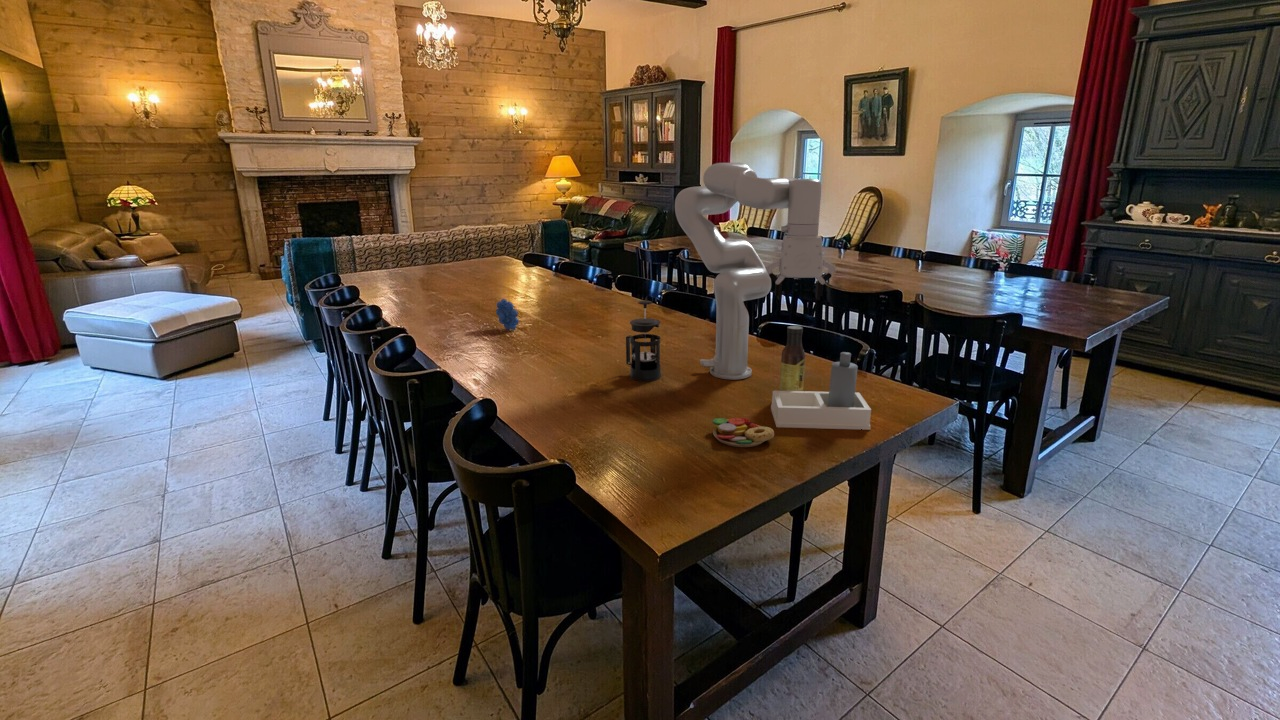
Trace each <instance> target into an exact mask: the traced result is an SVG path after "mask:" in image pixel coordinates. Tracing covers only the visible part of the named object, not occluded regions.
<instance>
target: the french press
mask: <svg viewBox="0 0 1280 720" xmlns="http://www.w3.org/2000/svg"><path fill="white" fill-rule="evenodd" d="M637 304H639V305H643V309H644V317H642V318H635V319H632V320H630V321H629V324H630V325H631V331H633V332H636V333H640V334H635V335H627V336H625V352H626V353H625V356H626V359H625V361H626V365H628V366H630V375H629V378H630V379H632V380H633V379H634V381H636V380H637V381H638V382H655V381H658V380H659V378H660V379H661V378H662V373H661V370H662V369H661V368H662V367H661V357H660V356H661V352H660V351H661V349H660V348H661V346H660V345H661V343H662V342H661V336H659V335H657V334H652V333H649V332H650V331H652V330H653V329H654V328H659V327H660V325H661V323H662V322H661V320H659V319H656V318H648V317H646V316H647V312H646V311H647V310H646V309H647V307H648V305H651V304H653V302H652V301H651V300H640V301H638V302H637ZM640 339H644V341H637V340H640ZM647 339H649V340H650V341H647ZM641 347H642V348H643V347H644V351H641ZM647 347H650V349H649V350H650V351H647ZM657 379H658V380H657ZM654 380H655V381H654Z"/></svg>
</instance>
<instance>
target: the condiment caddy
mask: <svg viewBox="0 0 1280 720" xmlns="http://www.w3.org/2000/svg"><path fill="white" fill-rule="evenodd" d="M839 356H840V357H839V361H835V362H834V361H833V362H832V363H831V368H830V379H829V389H828V391H813V390H812V391H808V390H807V391H806V390H805V391H804V390H803V391H779V390H772V395H771V396H772V398H771V404H770V411H771V414H772V417H773V421H774V423H775V427H776V428H787V429H788V428H793V429H797V428H798V429H800V428H801V429H824V430H825V429H827V430H828V429H830V430H831V429H835V430H861V429H862V431H863V430H864V431H865V430H867V431H870V430H871V429H872V428H871V415H872V414H871V413H872V408H871V407H870V406H869V405H868V403H867V401H866V400H865V398H864V397H863V395H861V393H860V392H856V388H857V387H856V386H857V377H858V368H859V366H858V365H857V364H855V363H854V362H851V357H852V353H851V352H848V351H847V352H846V351H842V352H840V353H839Z"/></svg>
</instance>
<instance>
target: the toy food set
mask: <svg viewBox="0 0 1280 720" xmlns="http://www.w3.org/2000/svg"><path fill="white" fill-rule="evenodd" d="M712 424H713V426H714V427H713V429H712V434H713V436H714V438H716V440H718V441H719V442H720V443H721V444H725V445H727V446H731V447H733V448H734V447H737V448H751V447H757V446H759V445H762V444H763V443H764V442H766V441H769V440H771V439H772V438H774V436H775V431H774V429H773V428H771V427H768V426H762V425H758V424H756V423H752V422H751V420H750V419H749V418H747V417H731V418H729V419H726V418H723V417H717V418H713V419H712Z"/></svg>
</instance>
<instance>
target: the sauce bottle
mask: <svg viewBox="0 0 1280 720" xmlns="http://www.w3.org/2000/svg"><path fill="white" fill-rule="evenodd" d="M803 332H804V328H803V327H802V326H800V325H799V326H798V325H790V326H787V328H786V334H787V335H786V345H785V346H784V347H783V349H782V351H781V361H780V370H779V371H780V372H779V388H778V389H779V390H778V391H804V381H805V369H806V368H805V367H806V354H805V350H804V346H803V342H802V341H803V340H802V339H803V338H802V337H803V334H804V333H803Z"/></svg>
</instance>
